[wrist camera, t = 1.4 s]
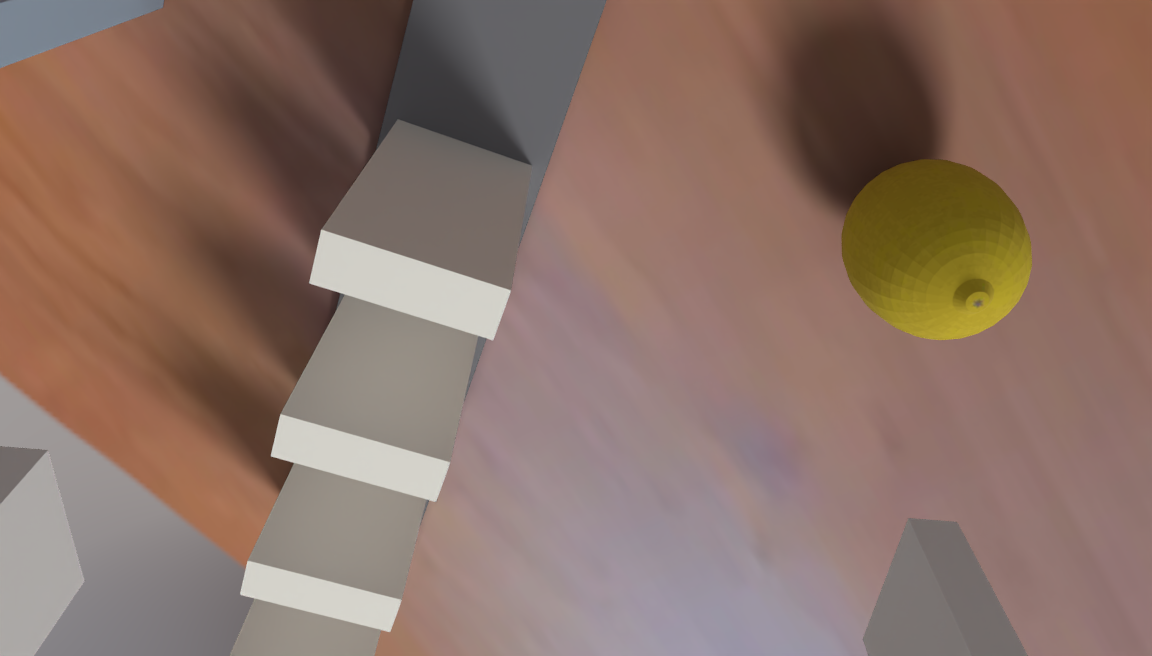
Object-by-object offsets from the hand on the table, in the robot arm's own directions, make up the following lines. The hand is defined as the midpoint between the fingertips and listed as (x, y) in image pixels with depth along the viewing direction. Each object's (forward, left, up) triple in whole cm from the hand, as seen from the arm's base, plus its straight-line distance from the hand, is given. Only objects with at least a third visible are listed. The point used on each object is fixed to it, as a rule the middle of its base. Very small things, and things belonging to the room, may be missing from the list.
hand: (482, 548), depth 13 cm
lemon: (+5, +12, -21) cm, 24 cm away
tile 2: (0, -3, -20) cm, 20 cm away
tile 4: (+10, -10, -20) cm, 24 cm away
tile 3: (+5, -6, -20) cm, 21 cm away
